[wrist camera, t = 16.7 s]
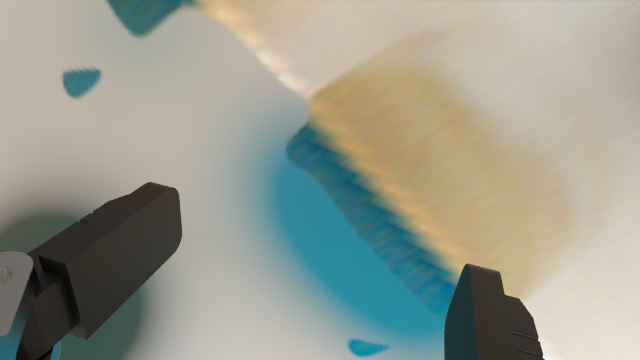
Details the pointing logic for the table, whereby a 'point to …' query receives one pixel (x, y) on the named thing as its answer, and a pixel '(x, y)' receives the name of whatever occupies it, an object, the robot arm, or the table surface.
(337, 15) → the table surface
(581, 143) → the table surface
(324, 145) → the table surface
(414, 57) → the table surface
